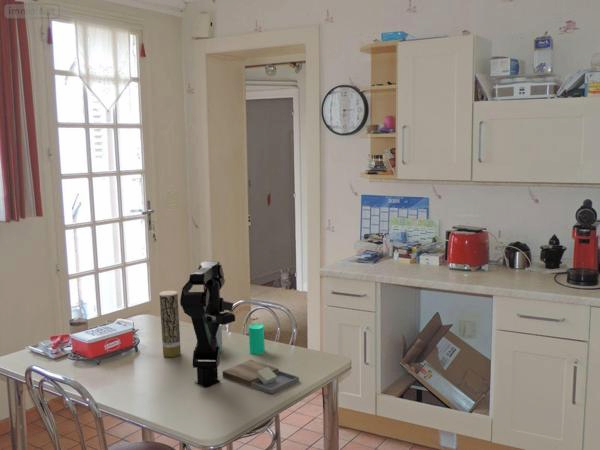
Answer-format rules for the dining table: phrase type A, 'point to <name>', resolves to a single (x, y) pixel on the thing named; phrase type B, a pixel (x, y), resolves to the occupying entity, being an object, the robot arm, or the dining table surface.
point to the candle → (256, 339)
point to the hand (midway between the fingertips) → (213, 337)
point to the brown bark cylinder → (170, 323)
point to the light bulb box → (219, 337)
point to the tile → (266, 375)
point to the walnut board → (246, 372)
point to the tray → (276, 382)
